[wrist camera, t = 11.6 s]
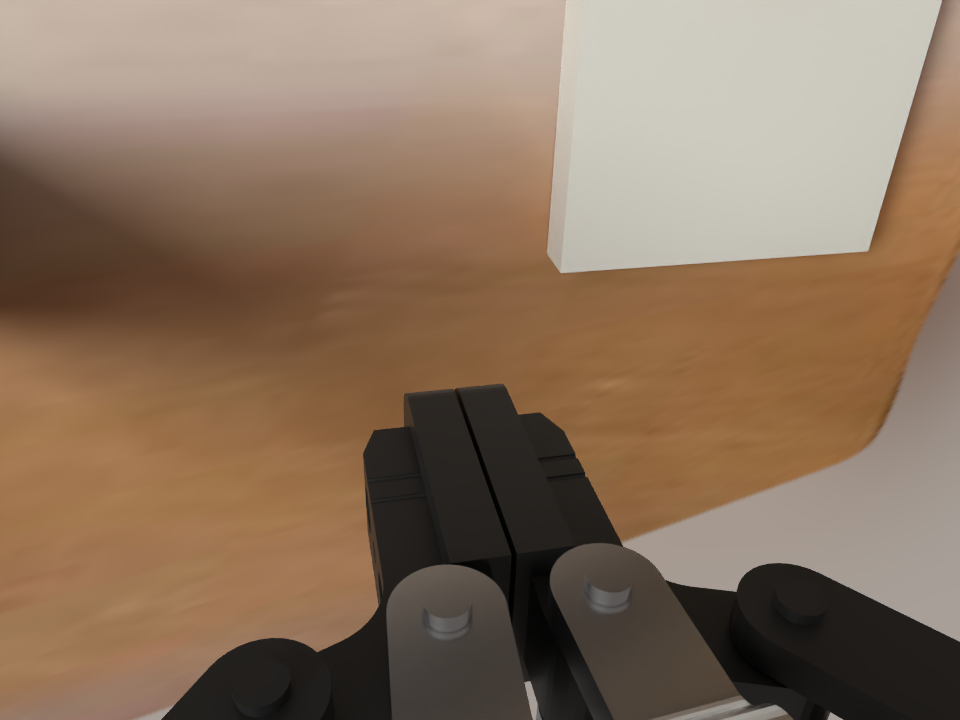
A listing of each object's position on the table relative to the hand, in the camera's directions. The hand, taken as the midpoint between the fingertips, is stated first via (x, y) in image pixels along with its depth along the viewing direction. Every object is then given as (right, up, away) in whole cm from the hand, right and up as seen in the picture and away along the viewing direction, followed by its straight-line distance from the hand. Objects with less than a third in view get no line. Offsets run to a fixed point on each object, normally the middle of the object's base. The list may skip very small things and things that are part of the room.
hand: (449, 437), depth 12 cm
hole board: (+13, +18, +27) cm, 35 cm away
